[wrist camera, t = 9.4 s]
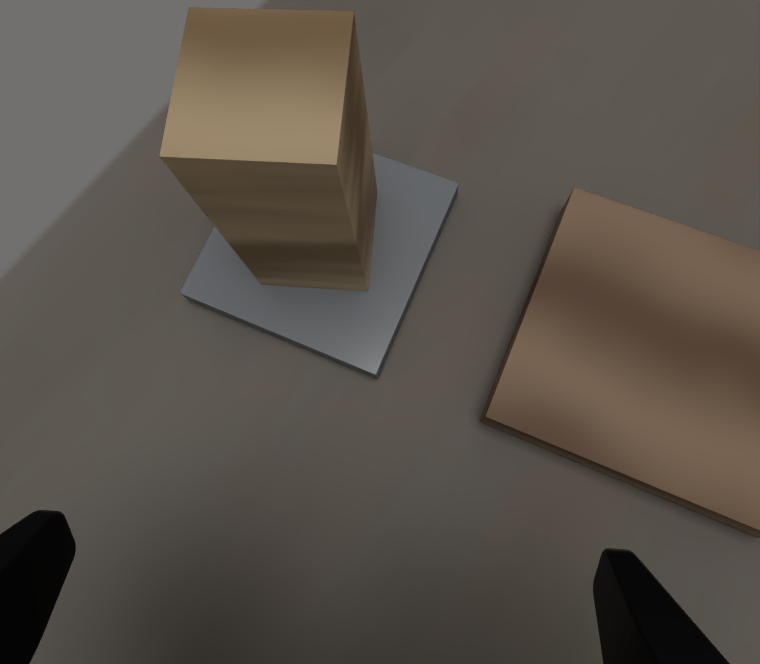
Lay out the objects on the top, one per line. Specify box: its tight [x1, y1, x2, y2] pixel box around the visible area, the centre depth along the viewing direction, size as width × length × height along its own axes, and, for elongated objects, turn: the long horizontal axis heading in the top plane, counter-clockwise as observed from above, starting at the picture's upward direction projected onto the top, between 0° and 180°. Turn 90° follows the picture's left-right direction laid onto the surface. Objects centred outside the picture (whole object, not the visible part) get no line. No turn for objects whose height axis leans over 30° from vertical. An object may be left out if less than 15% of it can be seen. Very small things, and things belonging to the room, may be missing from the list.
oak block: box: [159, 7, 378, 292], centre depth 20 cm, size 4×4×10 cm
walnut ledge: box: [480, 187, 760, 538], centre depth 23 cm, size 10×11×2 cm
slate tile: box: [180, 153, 459, 379], centre depth 25 cm, size 9×9×1 cm
